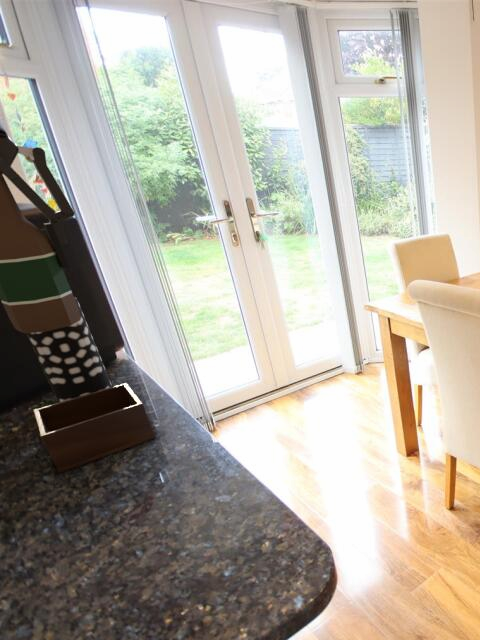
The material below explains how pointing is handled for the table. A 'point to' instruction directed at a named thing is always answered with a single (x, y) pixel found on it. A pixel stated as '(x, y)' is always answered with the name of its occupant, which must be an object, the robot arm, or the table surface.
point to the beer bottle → (31, 273)
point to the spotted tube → (70, 360)
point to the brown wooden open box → (93, 426)
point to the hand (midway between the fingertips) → (26, 271)
